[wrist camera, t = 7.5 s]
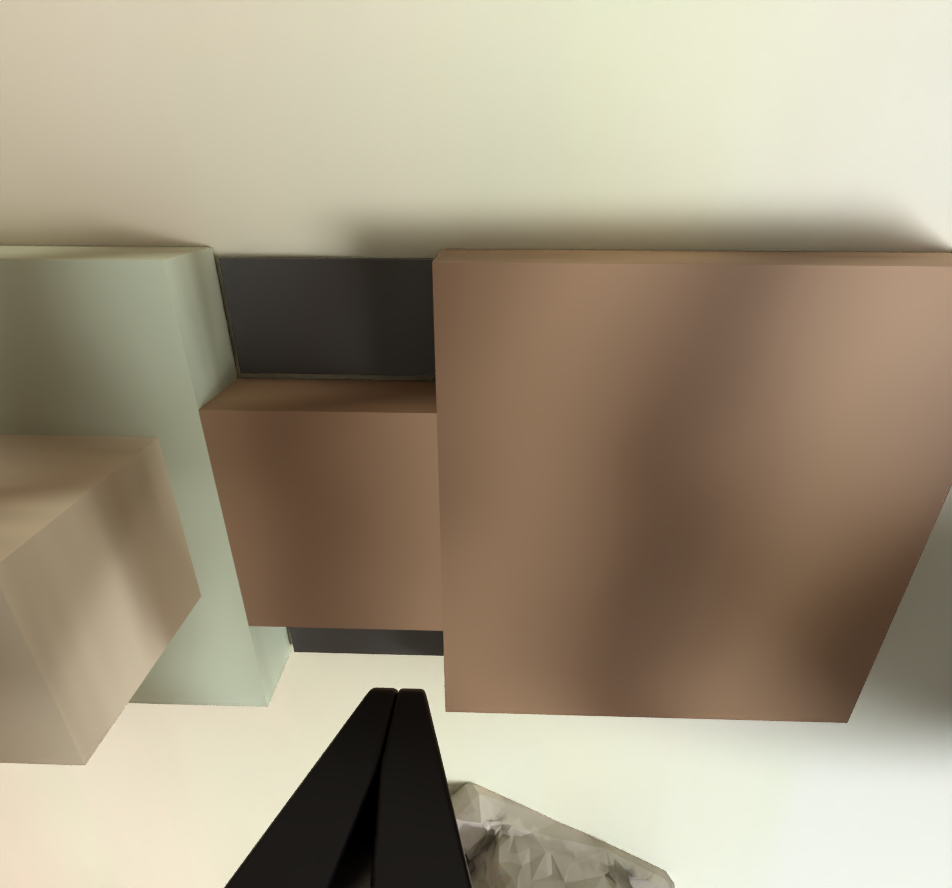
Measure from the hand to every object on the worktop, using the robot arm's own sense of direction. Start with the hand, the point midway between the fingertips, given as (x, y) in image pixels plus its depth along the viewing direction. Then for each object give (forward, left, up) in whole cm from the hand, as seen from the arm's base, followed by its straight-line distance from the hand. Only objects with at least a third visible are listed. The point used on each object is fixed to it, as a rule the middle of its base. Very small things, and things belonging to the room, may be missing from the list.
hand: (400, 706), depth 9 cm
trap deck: (0, 0, -7) cm, 7 cm away
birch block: (+8, 0, -5) cm, 9 cm away
